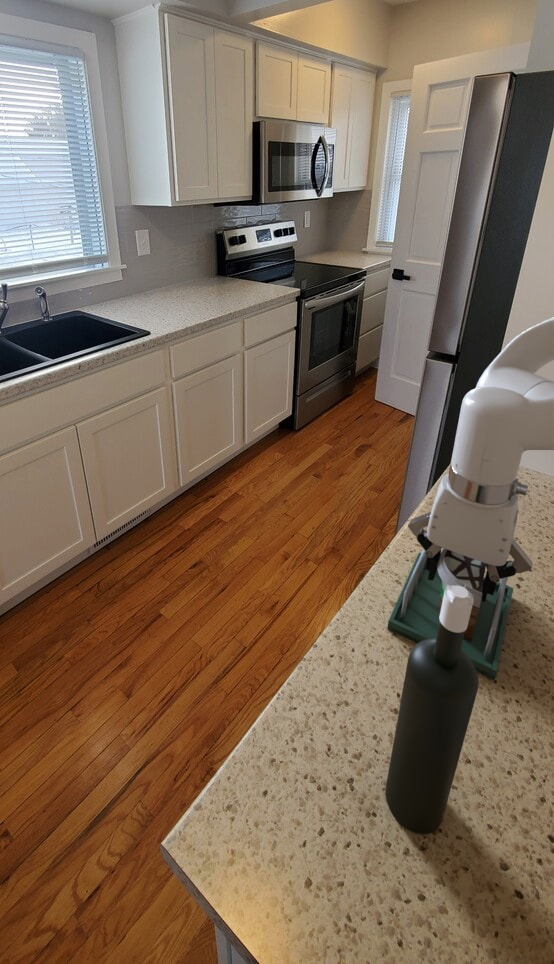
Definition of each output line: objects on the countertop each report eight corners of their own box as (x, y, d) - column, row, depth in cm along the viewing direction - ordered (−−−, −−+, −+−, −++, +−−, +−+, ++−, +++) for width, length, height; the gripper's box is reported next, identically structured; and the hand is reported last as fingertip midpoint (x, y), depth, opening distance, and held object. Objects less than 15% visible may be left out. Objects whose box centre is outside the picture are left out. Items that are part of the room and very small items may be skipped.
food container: (438, 573, 78) (447, 523, 74) (481, 587, 75) (492, 537, 71) (422, 631, 69) (430, 578, 65) (470, 650, 66) (482, 596, 62)
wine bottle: (403, 758, 55) (442, 554, 43) (453, 802, 51) (512, 592, 39) (374, 798, 51) (408, 590, 39) (425, 850, 48) (480, 636, 35)
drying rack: (510, 596, 75) (520, 564, 72) (494, 680, 63) (504, 645, 60) (417, 560, 82) (422, 529, 79) (387, 629, 70) (391, 595, 67)
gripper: (561, 487, 61) (529, 592, 68) (419, 449, 70) (404, 545, 77) (557, 521, 55) (523, 631, 63) (403, 474, 64) (389, 576, 72)
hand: (457, 583), depth 70 cm, fingers closed on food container, 6 cm apart
